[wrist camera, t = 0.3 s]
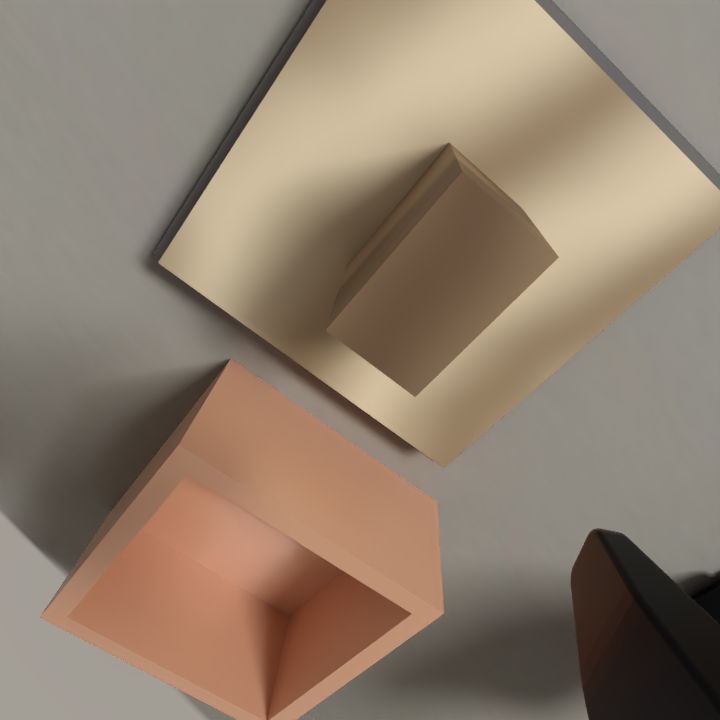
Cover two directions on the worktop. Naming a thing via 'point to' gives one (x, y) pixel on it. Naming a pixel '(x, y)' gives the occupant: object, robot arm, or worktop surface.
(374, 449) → the worktop surface
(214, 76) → the worktop surface
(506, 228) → the lid
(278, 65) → the mat
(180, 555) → the pink open tray
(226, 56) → the worktop surface
